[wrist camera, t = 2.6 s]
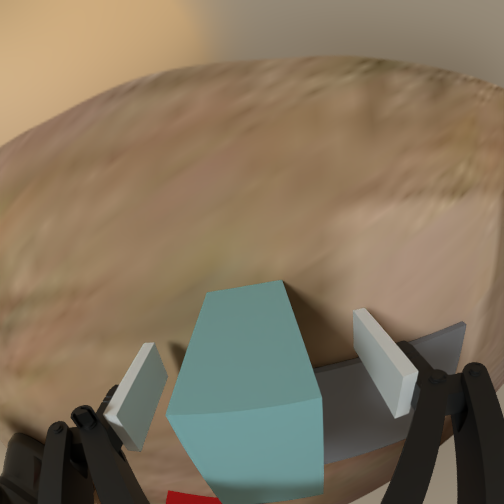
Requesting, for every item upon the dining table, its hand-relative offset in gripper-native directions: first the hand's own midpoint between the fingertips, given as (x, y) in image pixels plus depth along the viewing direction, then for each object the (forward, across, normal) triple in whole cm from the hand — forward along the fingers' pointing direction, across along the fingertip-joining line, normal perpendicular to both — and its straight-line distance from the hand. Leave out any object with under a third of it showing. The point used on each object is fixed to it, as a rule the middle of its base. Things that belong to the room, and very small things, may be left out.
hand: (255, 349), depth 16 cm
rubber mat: (+1, +9, -10) cm, 14 cm away
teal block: (+2, 0, 0) cm, 2 cm away
